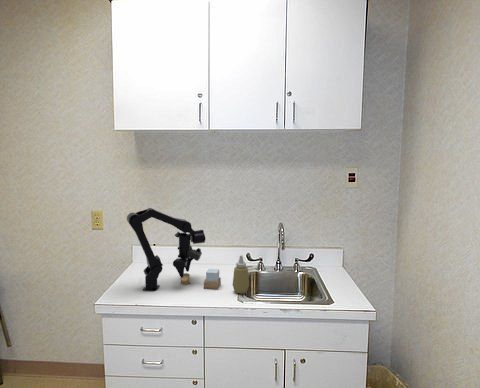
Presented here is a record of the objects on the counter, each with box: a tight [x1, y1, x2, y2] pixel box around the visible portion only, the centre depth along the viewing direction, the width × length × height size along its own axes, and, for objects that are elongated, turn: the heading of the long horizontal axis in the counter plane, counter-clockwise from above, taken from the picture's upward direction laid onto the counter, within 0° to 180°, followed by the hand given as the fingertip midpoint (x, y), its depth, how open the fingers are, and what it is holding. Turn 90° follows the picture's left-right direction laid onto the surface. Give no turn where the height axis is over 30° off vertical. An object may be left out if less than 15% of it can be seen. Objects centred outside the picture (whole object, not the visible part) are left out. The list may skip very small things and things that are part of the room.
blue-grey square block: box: [205, 268, 220, 282], centre depth 181 cm, size 6×6×4 cm
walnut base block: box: [203, 276, 222, 291], centre depth 182 cm, size 7×7×4 cm
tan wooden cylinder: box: [180, 272, 191, 286], centre depth 186 cm, size 5×5×4 cm
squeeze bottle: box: [232, 255, 250, 295], centre depth 175 cm, size 8×8×18 cm
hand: (184, 274), depth 186 cm, fingers open, 9 cm apart
